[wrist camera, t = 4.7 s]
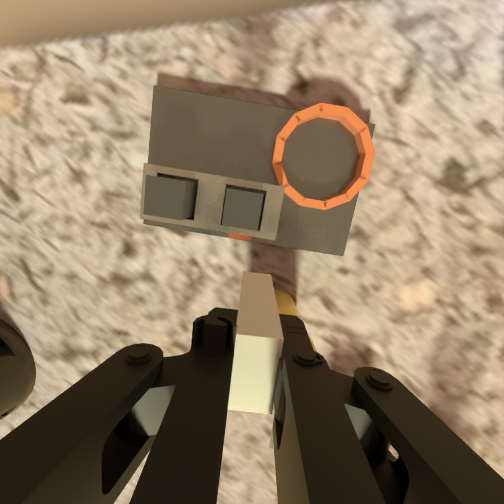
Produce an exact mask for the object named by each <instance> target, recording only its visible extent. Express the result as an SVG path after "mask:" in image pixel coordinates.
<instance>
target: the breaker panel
mask: <svg viewBox="0 0 504 504" xmlns="http://www.w3.org/2000/svg"><path fill="white" fill-rule="evenodd" d="M297 112H299V111H297V110H291V109H285V108H280V107H274V106H268V105H262V104H257V103H251V102H245V101H240V100H234V99H228V98H223V97H217V96H211V95H206V94H200V93H194V92H189V91H183V90H177V89H171V88H166V87H160V86H154V89H153V102H152V116H151V129H150V142H149V156H148V164H147V163H144V169H143V183H142V197H141V211H140V219H144V223H143V224H147V225H153V226H159V227H165V228H172V229H178V230H184V231H190V232H196V233H202V234H209V235H215V236H221V237H227V238H233V239H239V240H246V241H252V242H258V243H264V244H270V245H276V246H282V247H289V248H295V249H301V250H307V251H313V252H319V253H326V254H332V255H338V256H343V255H344V251H345V247H346V242H347V238H348V234H349V230H350V226H351V222H352V218H353V214H354V210H355V206H356V202H357V197H358V193H359V191H358V192H357V194H356V195H355V196H354V197H353V198H352V199H351V200H350V201H348V202H346V203H343V204H340V205H338V206H335V207H332V208H329V209H327V210H322V209H316V208H310V207H304V206H299V205H297V204H296V203H295V202H294V201H293V200H291V199H290V198H289V197H288V196H287V195H286V194H284V190H285V187H283V186H278V183H277V181H276V178H275V175H274V172H273V169H272V166H271V164H272V158H273V152H274V146H275V140H276V137H277V135H278V134H279V133H280V132H281V130H282V129H283V128H284V126H285V125H286V124H287V123H288V121H289V120H290V119H291V117H292V116H293V115H294V114H295V113H297ZM364 123H365V122H364ZM365 124H366V125H367V127H368V128H369V132H370V136H371V140H372V136H373V132H374V128H375V124H371V123H365ZM359 157H360V155H359V151H358V148H357V144H356V141H355V137H354V135H353V134H352V133H351V132H350V131H349V130H348V129H347V128H346V127H345V126H344V125H342V124H341V123H340V122H339V121H337V120H331V119H325V118H320V117H317V118H314V119H312V120H309V121H307V122H304V123H302V124H299V125H297V126H296V128H295V129H294V130H293V131H292V133H291V134H290V135H289V137H288V138H287V139H286V140H285V144H284V150H283V155H282V161H281V164H282V167H283V170H284V173H285V176H286V179H287V182H288V184H289V185H290V186H291V187H292V188H293V189H295V190H296V191H297V192H298V193H299V194H300V195H302V196H303V197H304V198H309V199H315V200H321V201H322V200H324V199H327V198H330V197H332V196H335V195H338V194H340V193H341V192H342V191H343V190H344V189H345V188H346V187H347V185H348V184H349V183H350V182H351V181H352V180H353V179H354V177H355V174H356V170H357V165H358V161H359ZM146 175H152V176H159V177H166V178H172V179H178V180H184V181H190V182H196V183H198V186H197V194H196V203H195V212H194V216H191V217H189V218H186V219H184V220H182V221H181V220H175V219H169V218H163V217H157V216H151V215H144V214H143V210H144V196H145V183H146ZM227 188H233V189H239V190H245V191H251V192H257V193H262V194H263V200H262V206H261V212H260V218H259V224H258V230H251V229H245V228H239V227H232V226H226V225H222V219H223V211H224V204H225V197H226V190H227Z"/></svg>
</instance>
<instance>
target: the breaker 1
mask: <svg viewBox="0 0 504 504" xmlns="http://www.w3.org/2000/svg"><path fill="white" fill-rule="evenodd" d="M197 186H198V183H196V182H190V181H184V180H178V179H172V178H166V177H159V176H152V175H146V183H145V196H144V210H143V214H144V215H151V216H157V217H163V218H169V219H175V220H181V221H182V220H184V219H186V218H189V217H191V216H194V212H195V203H196V194H197Z"/></svg>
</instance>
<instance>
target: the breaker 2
mask: <svg viewBox="0 0 504 504" xmlns="http://www.w3.org/2000/svg"><path fill="white" fill-rule="evenodd" d="M262 200H263V194H262V193H257V192H251V191H245V190H239V189H233V188H227V190H226V197H225V204H224V211H223V219H222V225H226V226H232V227H239V228H245V229H251V230H258V224H259V218H260V212H261V206H262Z"/></svg>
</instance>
